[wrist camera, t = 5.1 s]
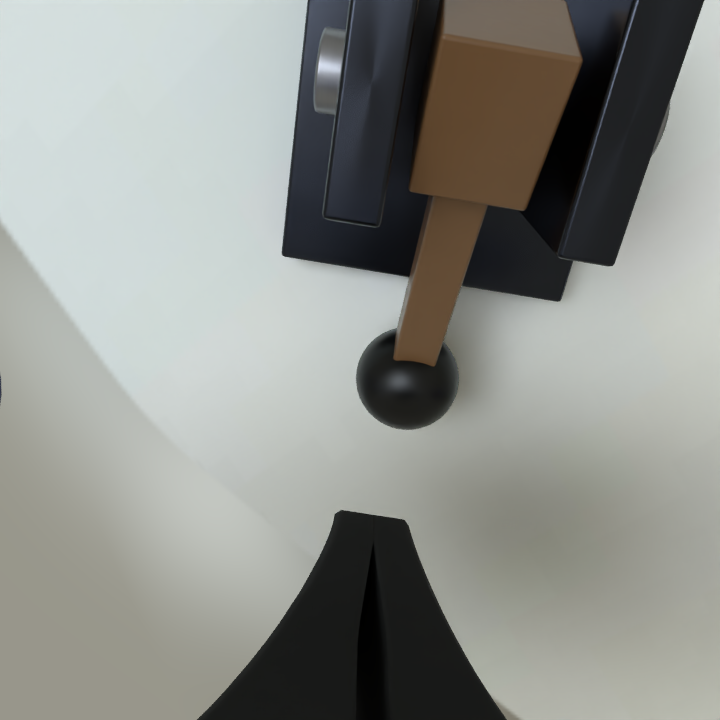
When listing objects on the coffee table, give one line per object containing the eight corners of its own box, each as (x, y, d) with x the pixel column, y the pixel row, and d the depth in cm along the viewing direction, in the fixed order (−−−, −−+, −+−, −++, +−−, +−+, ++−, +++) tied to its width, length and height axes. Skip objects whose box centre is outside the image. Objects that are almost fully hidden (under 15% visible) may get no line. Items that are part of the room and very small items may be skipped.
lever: (447, 378, 19) (444, 456, 17) (356, 364, 19) (345, 440, 17) (583, -2, 11) (607, 68, 9) (427, -29, 11) (420, 36, 9)
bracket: (551, 289, 19) (644, 423, 12) (287, 245, 19) (221, 355, 12) (673, -116, 15) (933, -285, 8) (332, -177, 14) (272, -407, 7)
